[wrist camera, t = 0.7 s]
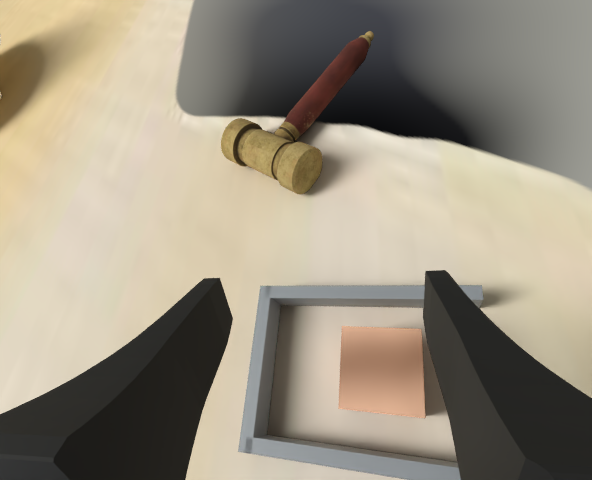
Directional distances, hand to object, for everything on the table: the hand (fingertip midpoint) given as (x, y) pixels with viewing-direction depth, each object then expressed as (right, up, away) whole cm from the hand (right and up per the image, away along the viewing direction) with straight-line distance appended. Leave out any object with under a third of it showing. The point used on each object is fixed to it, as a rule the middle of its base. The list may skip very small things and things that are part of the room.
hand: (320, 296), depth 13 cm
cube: (+6, -8, +14) cm, 17 cm away
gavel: (+2, +16, +27) cm, 31 cm away
